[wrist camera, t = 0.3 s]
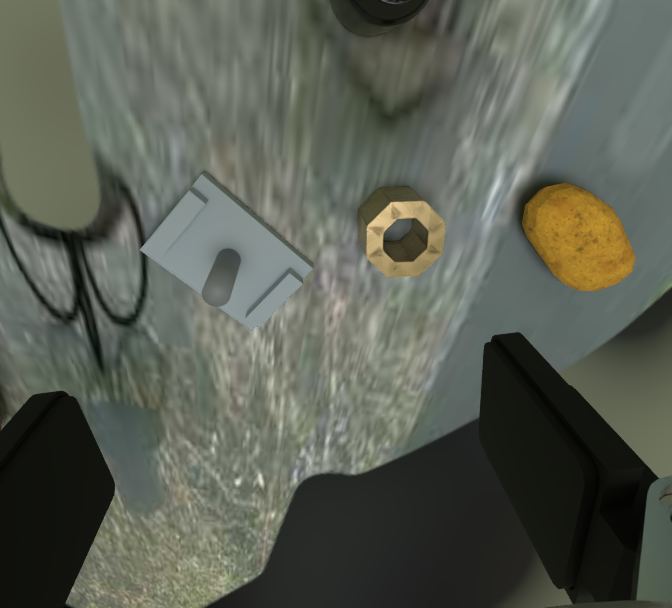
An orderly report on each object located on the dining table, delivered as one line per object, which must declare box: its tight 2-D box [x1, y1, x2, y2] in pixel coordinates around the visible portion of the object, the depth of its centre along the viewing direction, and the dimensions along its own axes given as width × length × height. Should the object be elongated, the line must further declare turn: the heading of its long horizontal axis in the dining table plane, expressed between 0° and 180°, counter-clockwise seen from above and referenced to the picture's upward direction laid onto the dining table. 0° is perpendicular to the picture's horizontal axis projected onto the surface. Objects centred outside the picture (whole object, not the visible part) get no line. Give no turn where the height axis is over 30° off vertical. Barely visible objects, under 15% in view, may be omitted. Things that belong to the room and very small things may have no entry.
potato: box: [522, 183, 635, 291], centre depth 44 cm, size 8×14×7 cm, turn 43°
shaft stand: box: [140, 171, 313, 331], centre depth 41 cm, size 14×10×10 cm
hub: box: [358, 186, 446, 277], centre depth 43 cm, size 7×7×6 cm
